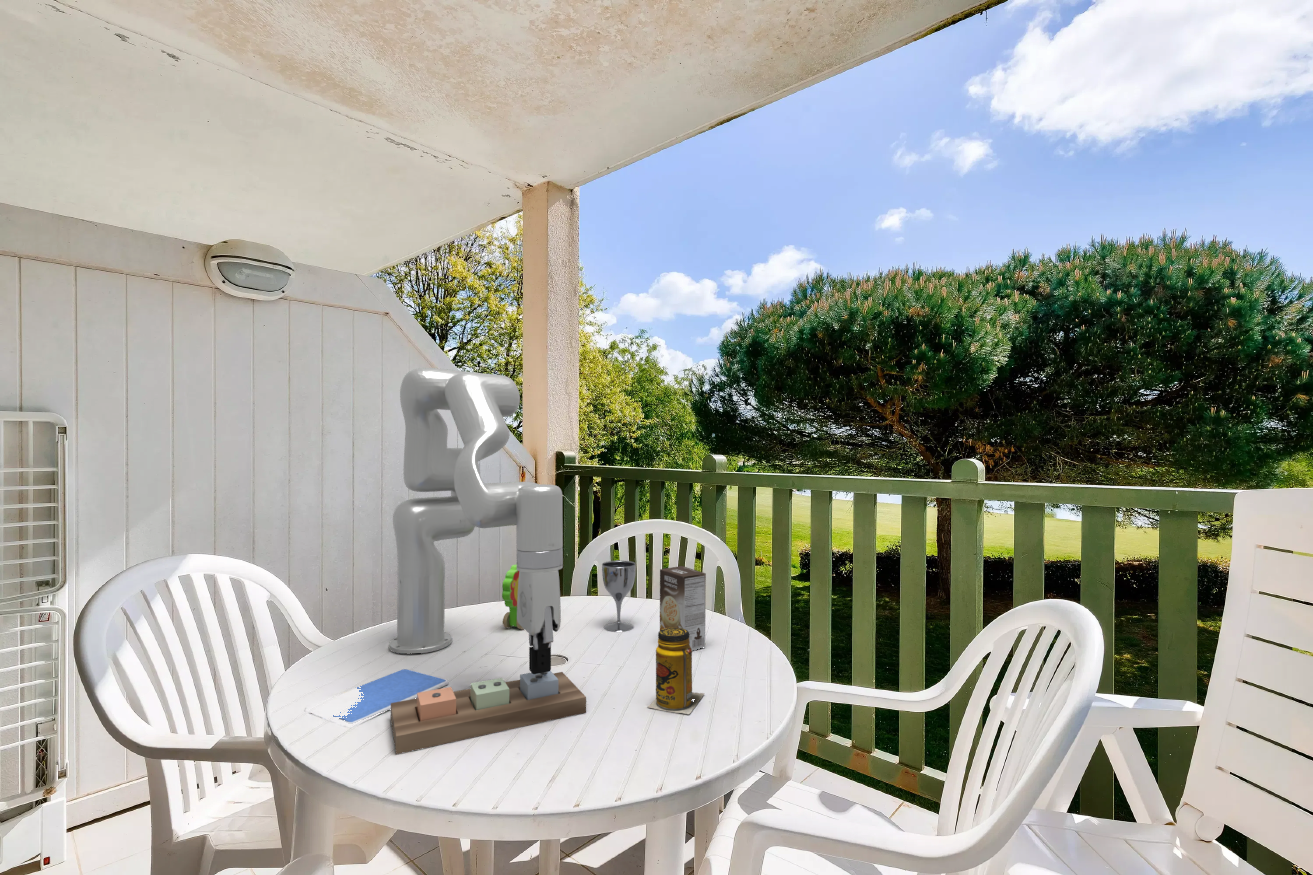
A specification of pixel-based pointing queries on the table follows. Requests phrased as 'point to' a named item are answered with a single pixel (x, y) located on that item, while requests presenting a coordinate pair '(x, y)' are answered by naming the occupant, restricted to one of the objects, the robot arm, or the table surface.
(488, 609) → the table surface
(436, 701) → the button one dot
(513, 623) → the green wooden toy car
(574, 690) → the button board
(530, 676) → the button three dots
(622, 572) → the wine glass
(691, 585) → the coffee box
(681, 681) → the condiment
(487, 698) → the button two dots
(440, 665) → the table surface
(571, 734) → the table surface
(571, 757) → the table surface
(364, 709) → the blue rectangular pad
